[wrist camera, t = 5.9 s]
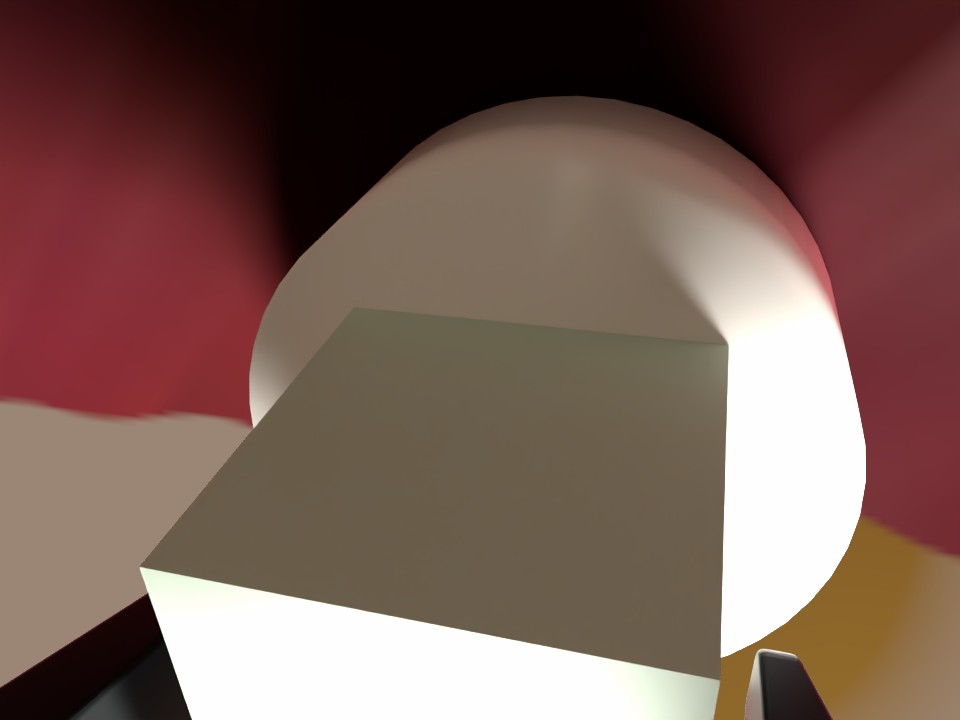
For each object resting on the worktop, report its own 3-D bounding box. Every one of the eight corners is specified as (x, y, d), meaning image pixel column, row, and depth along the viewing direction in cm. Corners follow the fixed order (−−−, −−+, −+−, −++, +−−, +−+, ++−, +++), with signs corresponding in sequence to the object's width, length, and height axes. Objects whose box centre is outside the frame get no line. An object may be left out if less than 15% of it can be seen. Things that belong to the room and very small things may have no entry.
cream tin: (887, 98, 12) (946, 195, 9) (789, 550, 17) (803, 722, 13) (317, 84, 14) (191, 158, 11) (373, 488, 19) (297, 625, 16)
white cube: (728, 344, 10) (721, 681, 6) (688, 620, 13) (663, 983, 9) (354, 306, 11) (139, 566, 7) (387, 566, 14) (242, 864, 10)
